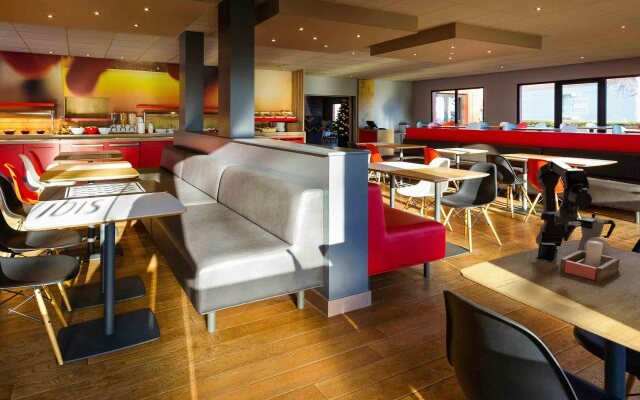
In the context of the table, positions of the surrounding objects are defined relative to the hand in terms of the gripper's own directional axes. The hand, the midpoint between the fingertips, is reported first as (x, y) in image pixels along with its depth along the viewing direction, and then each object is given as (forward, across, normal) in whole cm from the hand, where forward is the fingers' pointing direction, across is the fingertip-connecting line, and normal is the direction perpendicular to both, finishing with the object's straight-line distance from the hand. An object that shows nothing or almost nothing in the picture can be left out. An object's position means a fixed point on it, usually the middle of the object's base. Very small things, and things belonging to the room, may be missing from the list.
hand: (565, 241), depth 176 cm
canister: (+12, +6, +13) cm, 18 cm away
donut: (+13, +3, +27) cm, 30 cm away
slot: (+13, +6, +10) cm, 17 cm away
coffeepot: (+13, -2, +36) cm, 38 cm away
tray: (+13, +6, +8) cm, 16 cm away
